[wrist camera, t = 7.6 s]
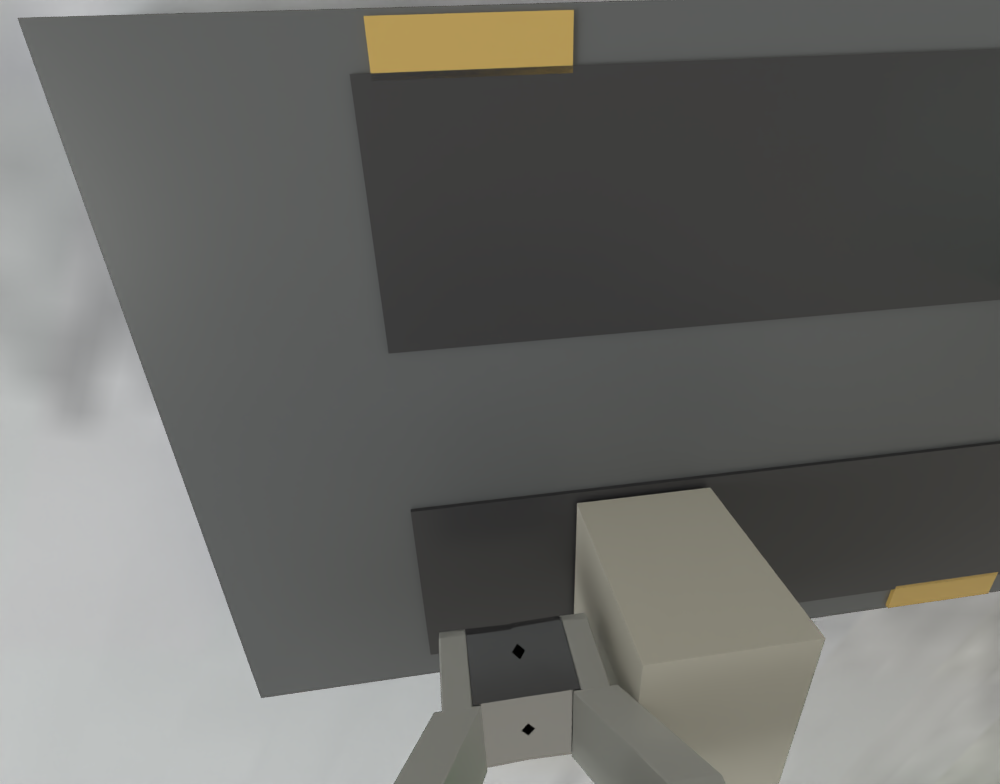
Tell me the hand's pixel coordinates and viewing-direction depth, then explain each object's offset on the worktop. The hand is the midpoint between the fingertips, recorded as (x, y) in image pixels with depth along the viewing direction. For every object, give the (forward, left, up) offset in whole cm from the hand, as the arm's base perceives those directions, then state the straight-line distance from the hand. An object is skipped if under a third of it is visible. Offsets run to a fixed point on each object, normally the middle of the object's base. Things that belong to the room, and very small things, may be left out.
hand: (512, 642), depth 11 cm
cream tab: (+3, 0, -2) cm, 4 cm away
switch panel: (+6, +4, -4) cm, 8 cm away
